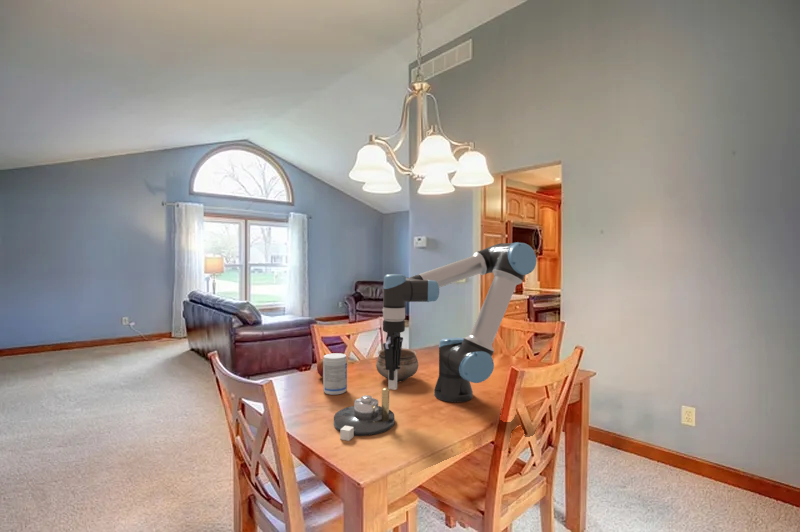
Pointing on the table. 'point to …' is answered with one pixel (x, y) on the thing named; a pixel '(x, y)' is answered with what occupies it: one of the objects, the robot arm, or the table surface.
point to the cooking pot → (406, 364)
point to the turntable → (367, 426)
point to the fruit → (320, 367)
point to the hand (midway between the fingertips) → (392, 388)
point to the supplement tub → (334, 373)
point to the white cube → (347, 433)
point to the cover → (366, 408)
